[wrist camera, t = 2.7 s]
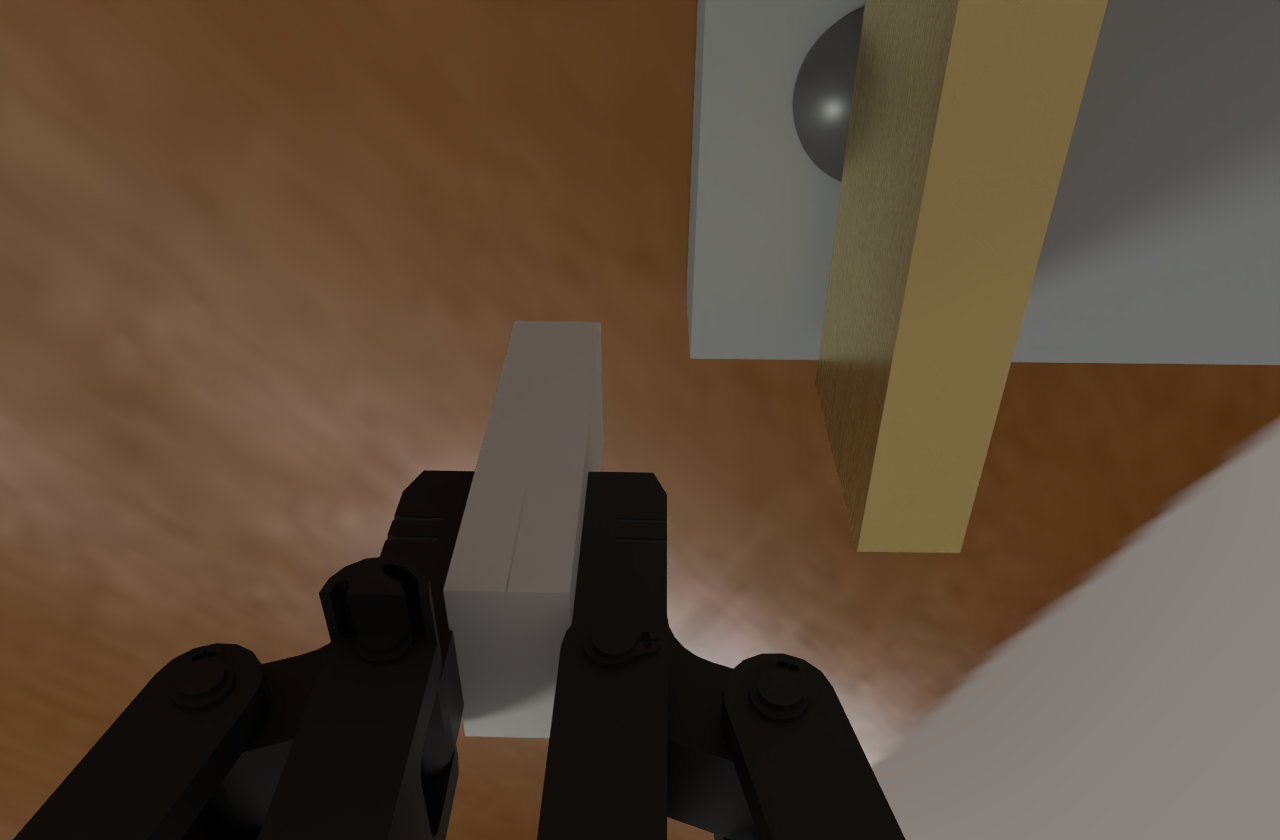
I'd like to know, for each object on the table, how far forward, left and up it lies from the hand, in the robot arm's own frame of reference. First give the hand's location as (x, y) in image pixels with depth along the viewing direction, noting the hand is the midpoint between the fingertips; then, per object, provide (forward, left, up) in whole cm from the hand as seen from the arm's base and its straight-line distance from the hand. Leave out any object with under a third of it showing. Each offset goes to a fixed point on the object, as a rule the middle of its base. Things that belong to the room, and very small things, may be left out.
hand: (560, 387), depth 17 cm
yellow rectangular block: (+7, +3, -7) cm, 10 cm away
